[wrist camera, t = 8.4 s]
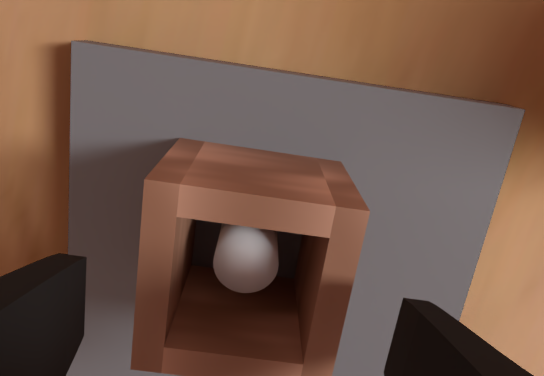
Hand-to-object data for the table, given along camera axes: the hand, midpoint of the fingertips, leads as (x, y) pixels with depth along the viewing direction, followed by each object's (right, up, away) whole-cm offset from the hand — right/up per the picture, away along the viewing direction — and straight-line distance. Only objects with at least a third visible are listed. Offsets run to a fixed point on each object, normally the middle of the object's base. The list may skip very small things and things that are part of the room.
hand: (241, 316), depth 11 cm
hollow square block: (0, +2, +5) cm, 5 cm away
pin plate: (0, -1, +7) cm, 7 cm away
